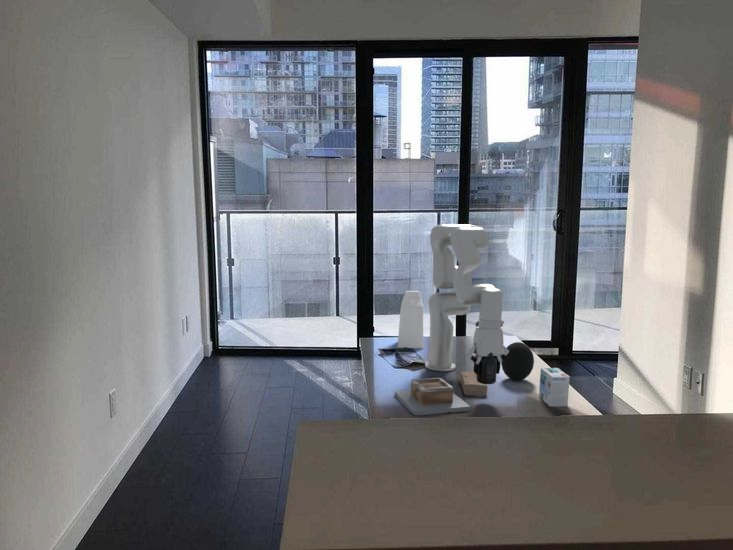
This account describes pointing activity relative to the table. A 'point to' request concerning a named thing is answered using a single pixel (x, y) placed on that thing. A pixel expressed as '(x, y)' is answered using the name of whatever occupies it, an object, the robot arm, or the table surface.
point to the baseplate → (420, 409)
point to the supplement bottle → (487, 369)
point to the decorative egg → (518, 361)
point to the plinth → (431, 391)
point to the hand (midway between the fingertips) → (486, 372)
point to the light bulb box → (554, 387)
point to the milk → (411, 321)
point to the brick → (472, 384)
